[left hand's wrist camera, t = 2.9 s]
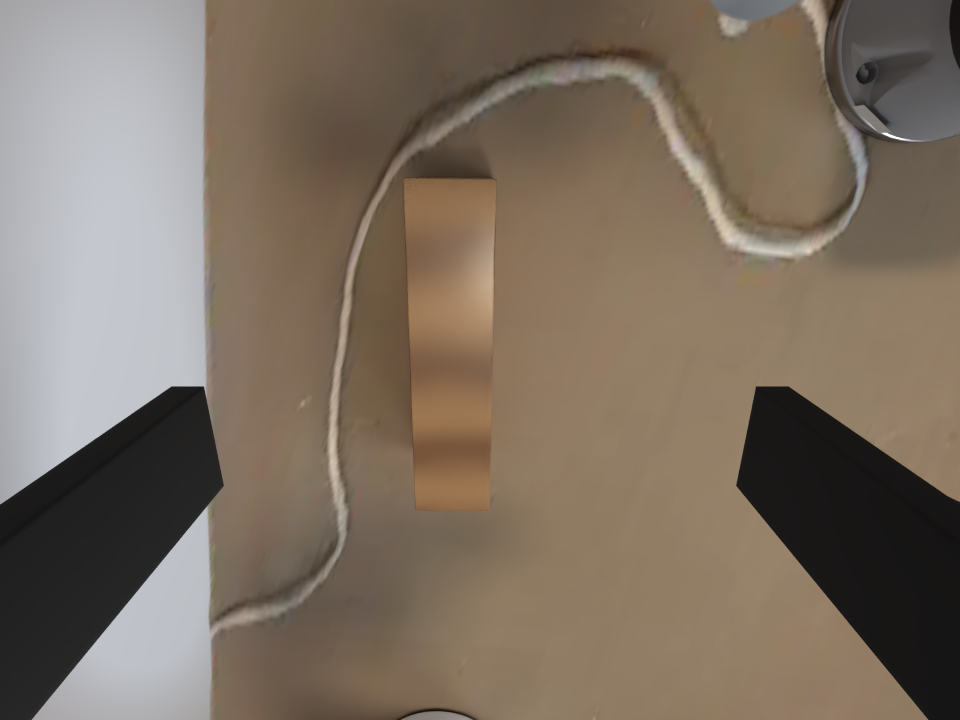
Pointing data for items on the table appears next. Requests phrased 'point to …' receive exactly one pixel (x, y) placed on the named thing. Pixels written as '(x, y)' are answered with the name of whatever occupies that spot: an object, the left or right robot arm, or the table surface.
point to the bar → (450, 337)
